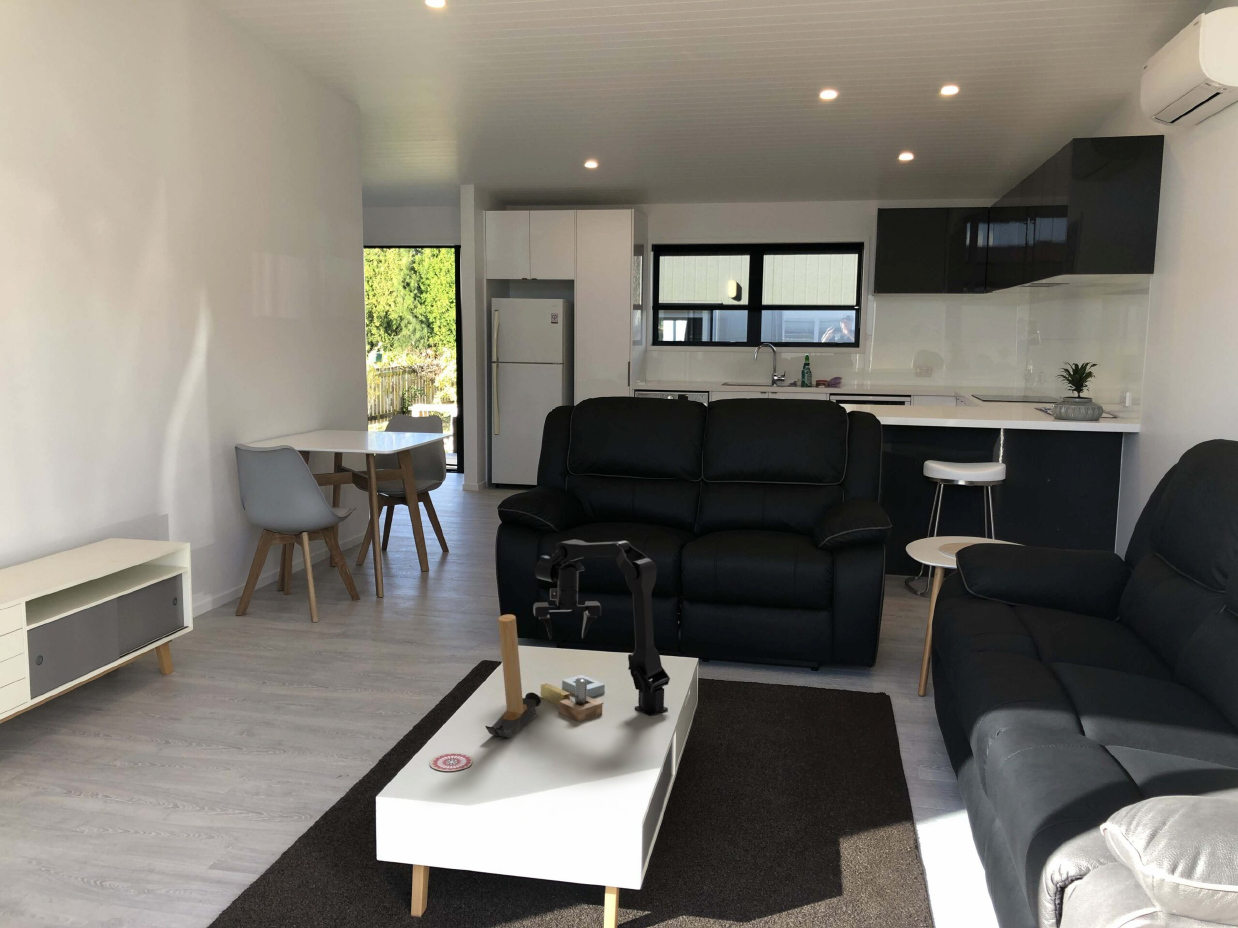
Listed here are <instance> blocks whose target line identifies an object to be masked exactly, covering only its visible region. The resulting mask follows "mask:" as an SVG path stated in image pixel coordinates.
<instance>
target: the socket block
mask: <svg viewBox="0 0 1238 928" xmlns="http://www.w3.org/2000/svg"><path fill="white" fill-rule="evenodd" d="M558 713H560V714H562V715H564V716H566V717H568V718H569V719H572V720H575V721H576V722H578V723H580V722H582V721H585V720H588V719H592V718H595V717H597V716H600V715H603V702H601V701H600V700H597V699H595V698H593V697H588V696H587V704H585V705H581V706H579V705H577V704H575V702H573V701H572V700H571V699H570V700H568V699H565V700H562V701H559V705H558Z"/></svg>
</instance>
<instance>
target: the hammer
mask: <svg viewBox="0 0 1238 928" xmlns="http://www.w3.org/2000/svg"><path fill="white" fill-rule="evenodd" d="M517 628H518V627H517V618H516V615H514V614H511V613H510V614H503V615H501V616H499V617H498V629H499V639H500V640H499V641H500V648H501V659H502V660H501V663H502V670H503V671H502V672H503V683H504V690H505V691H504V692H505V693H504V694H505V695H504V696H505V703H506V704H505V705H506V711H504V713H503V714H502V715H501V716H500V717H499V718H498V719H497V720H496V722H495V723H494V724H493V725H492V726H488V725H485V729H486V730H487V732H488V734H489V735H491V736H497V737H502V738H507V739H511V738H513V737H515V735H517V734H518V733H519V732H520V731H522V730H523V729H524V728H526V727H527V726H528V725H529V724H530V723H531V722H532V720H533V719H534V718H535V717H536V716H537V707H539V706H541V704H542V699H541V696H539V695H538V694H537V693H535V692H528V693H526V694H525V697H523V689H522V688H523V687H522V678H521V676H522V675H521V666H520V654H519V653H520V651H519V641H518V630H517Z"/></svg>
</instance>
